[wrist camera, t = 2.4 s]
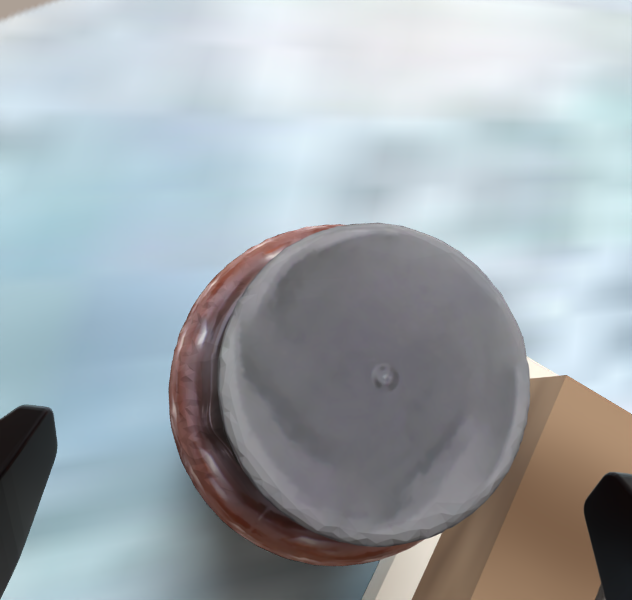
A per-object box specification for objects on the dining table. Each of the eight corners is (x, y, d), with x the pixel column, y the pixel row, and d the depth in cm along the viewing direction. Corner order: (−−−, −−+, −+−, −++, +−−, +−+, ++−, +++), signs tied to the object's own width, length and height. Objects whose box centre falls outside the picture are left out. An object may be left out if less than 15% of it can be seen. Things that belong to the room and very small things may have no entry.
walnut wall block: (490, 665, 15) (548, 726, 13) (403, 616, 15) (442, 665, 12) (587, 425, 17) (657, 429, 14) (511, 380, 17) (566, 375, 14)
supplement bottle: (407, 353, 18) (667, 272, 7) (338, 521, 17) (531, 746, 6) (252, 278, 18) (273, 73, 7) (168, 441, 16) (24, 518, 5)
